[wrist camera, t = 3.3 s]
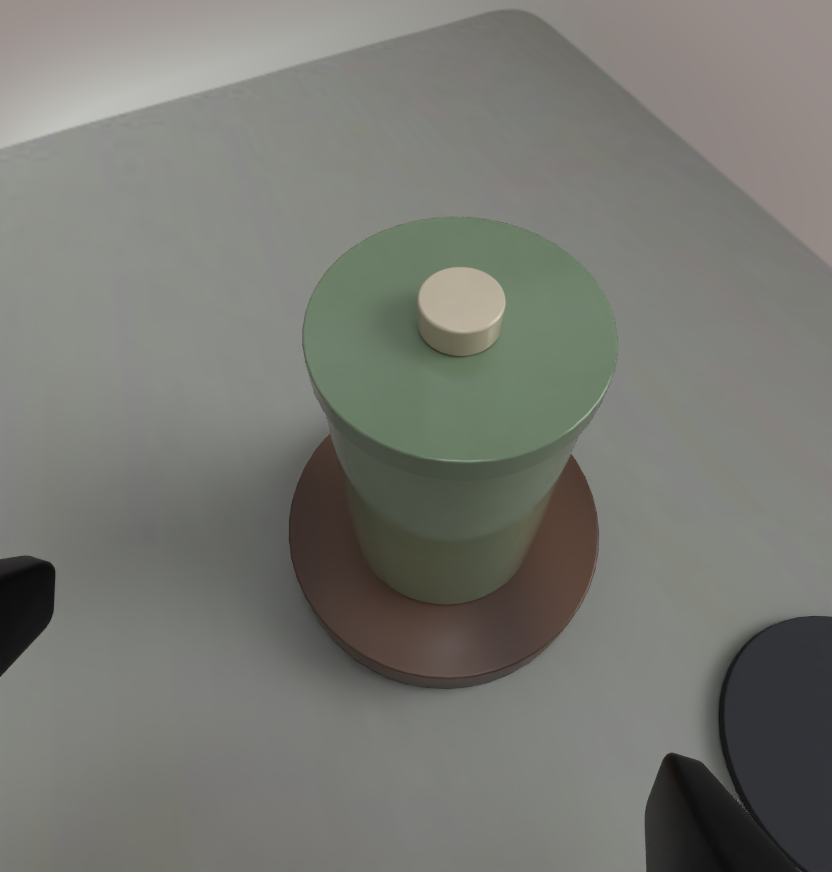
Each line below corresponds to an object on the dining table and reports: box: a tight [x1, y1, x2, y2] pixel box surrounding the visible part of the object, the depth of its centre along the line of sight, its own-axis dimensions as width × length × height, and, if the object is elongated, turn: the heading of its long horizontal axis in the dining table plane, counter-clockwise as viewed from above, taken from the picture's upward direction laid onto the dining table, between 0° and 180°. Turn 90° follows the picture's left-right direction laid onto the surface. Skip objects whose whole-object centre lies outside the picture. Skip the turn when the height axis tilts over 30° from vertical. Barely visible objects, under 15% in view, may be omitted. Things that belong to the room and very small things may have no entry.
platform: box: [289, 434, 599, 689], centre depth 23 cm, size 11×11×2 cm
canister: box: [302, 217, 618, 605], centre depth 18 cm, size 7×7×11 cm
